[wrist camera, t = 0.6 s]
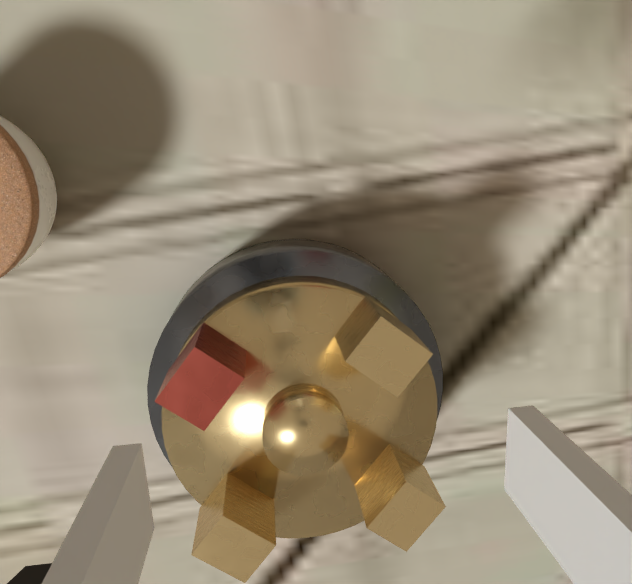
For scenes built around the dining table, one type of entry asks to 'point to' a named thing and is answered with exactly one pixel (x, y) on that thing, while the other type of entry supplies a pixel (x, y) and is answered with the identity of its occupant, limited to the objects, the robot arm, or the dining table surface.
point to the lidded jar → (23, 197)
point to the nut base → (271, 264)
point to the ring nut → (300, 420)
